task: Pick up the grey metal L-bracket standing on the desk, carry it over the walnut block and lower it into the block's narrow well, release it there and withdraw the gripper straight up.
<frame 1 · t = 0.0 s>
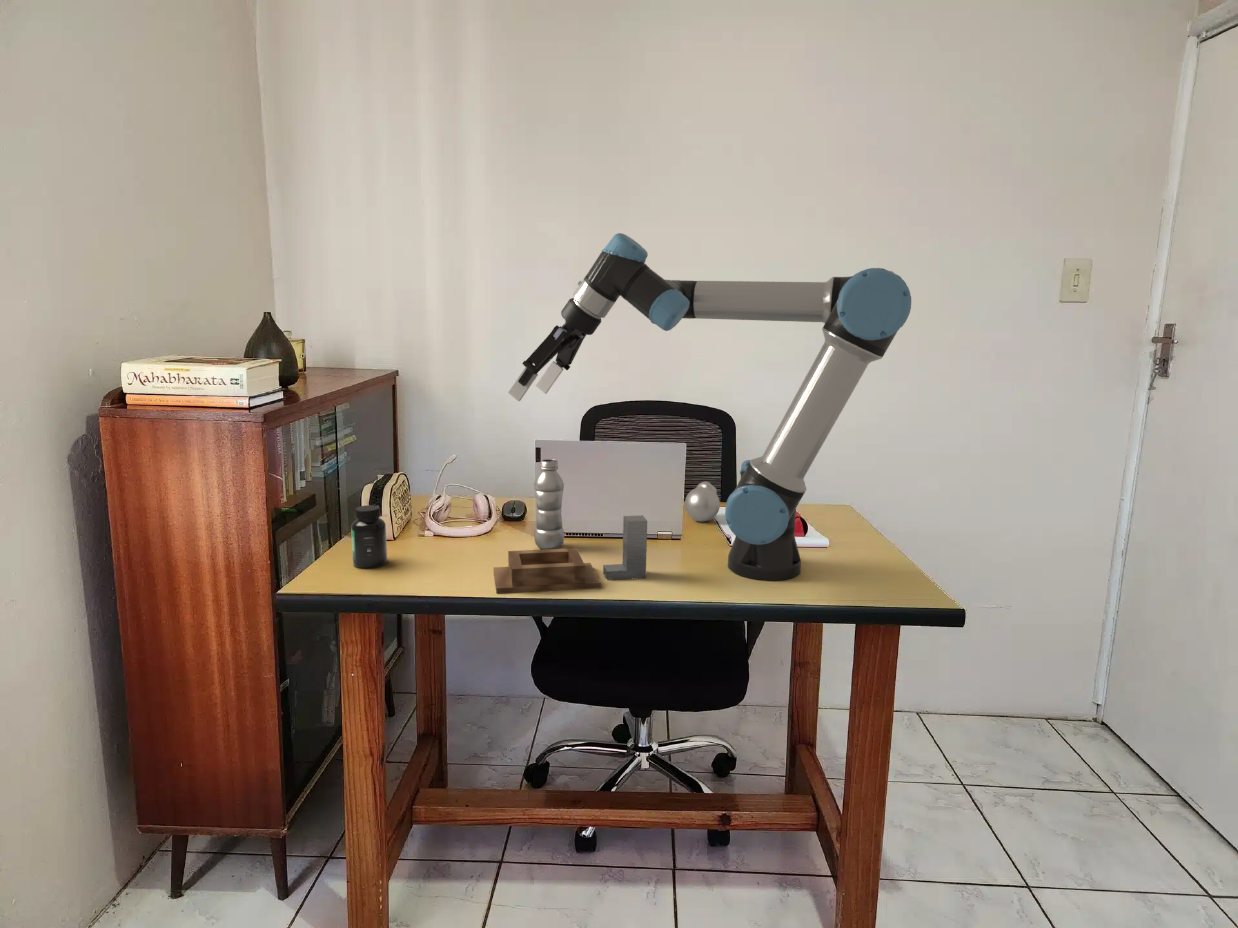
hand: (528, 393, 162), 36 cm above the table, tool tilted 35°, fingers open, 13 cm apart
bracket: (633, 575, 162), on the table
well: (545, 579, 159), on the table
plastic bottle: (549, 549, 178), on the table
supplement bottle: (370, 564, 166), on the table
silver pear shape: (702, 521, 203), on the table
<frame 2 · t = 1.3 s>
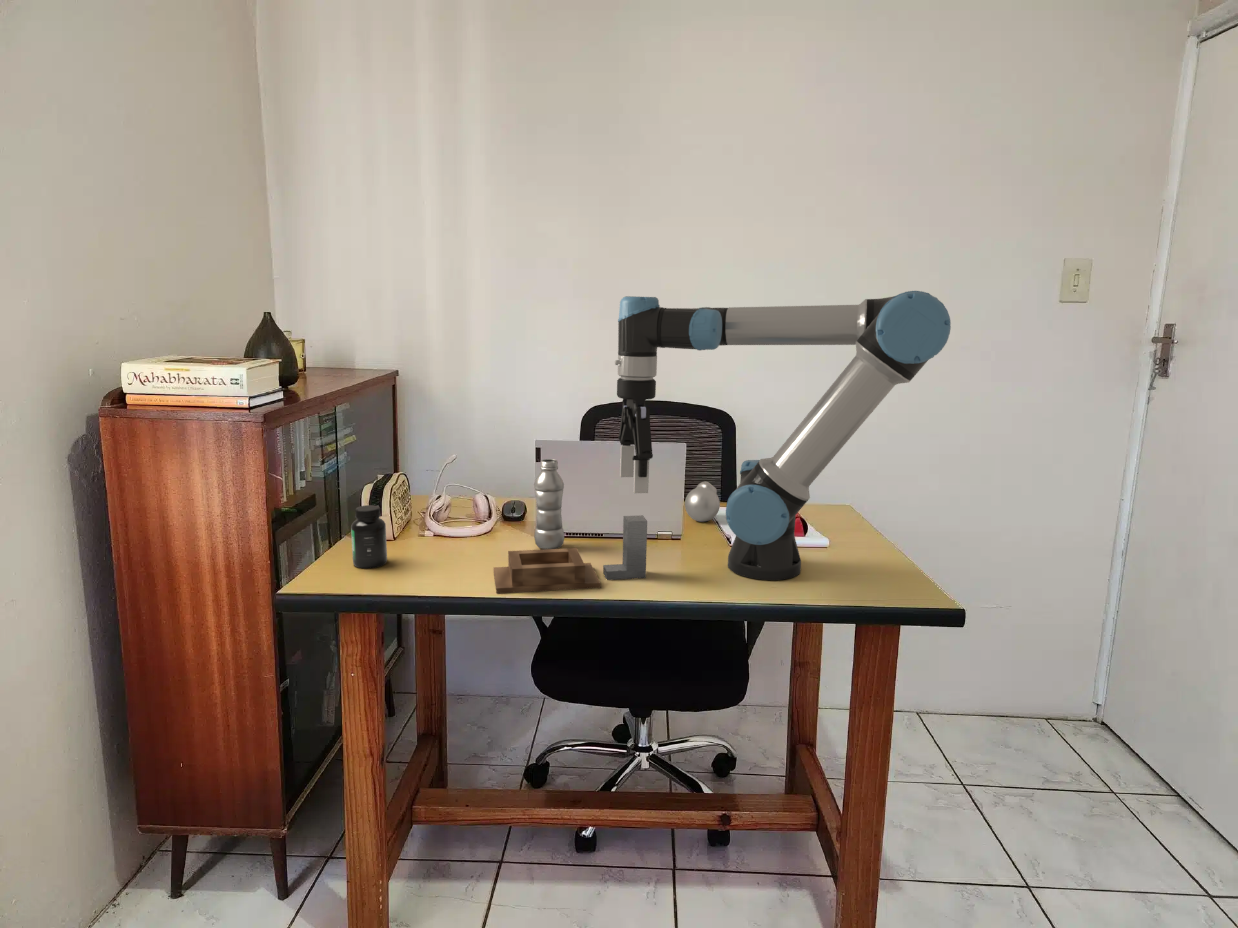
hand: (633, 484, 158), 19 cm above the table, tool pointing down, fingers open, 13 cm apart
nothing on the table moved.
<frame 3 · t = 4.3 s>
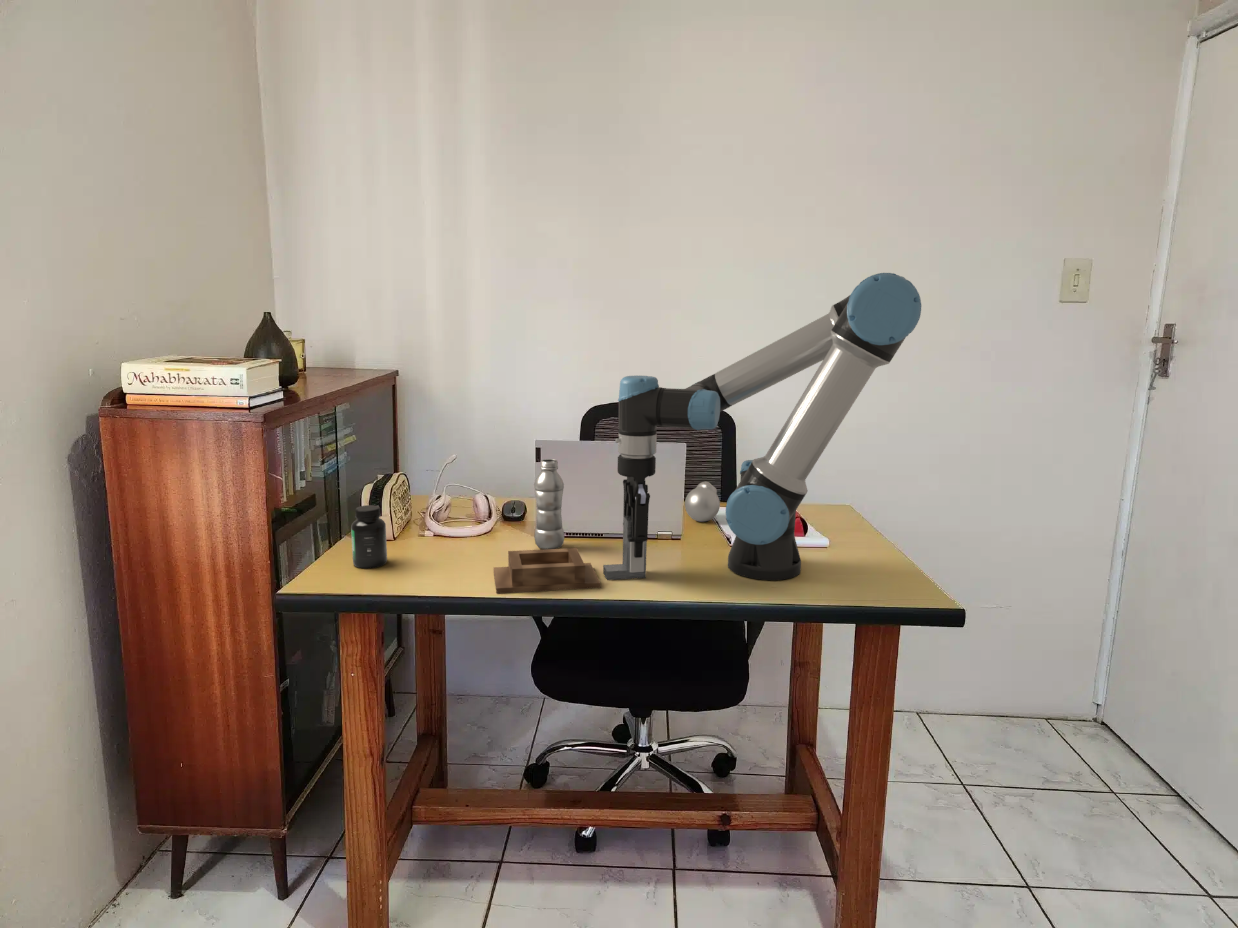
hand: (634, 567, 162), 2 cm above the table, tool pointing down, fingers closed on bracket, 4 cm apart
bracket: (633, 575, 162), on the table, touching gripper
everything else where it was.
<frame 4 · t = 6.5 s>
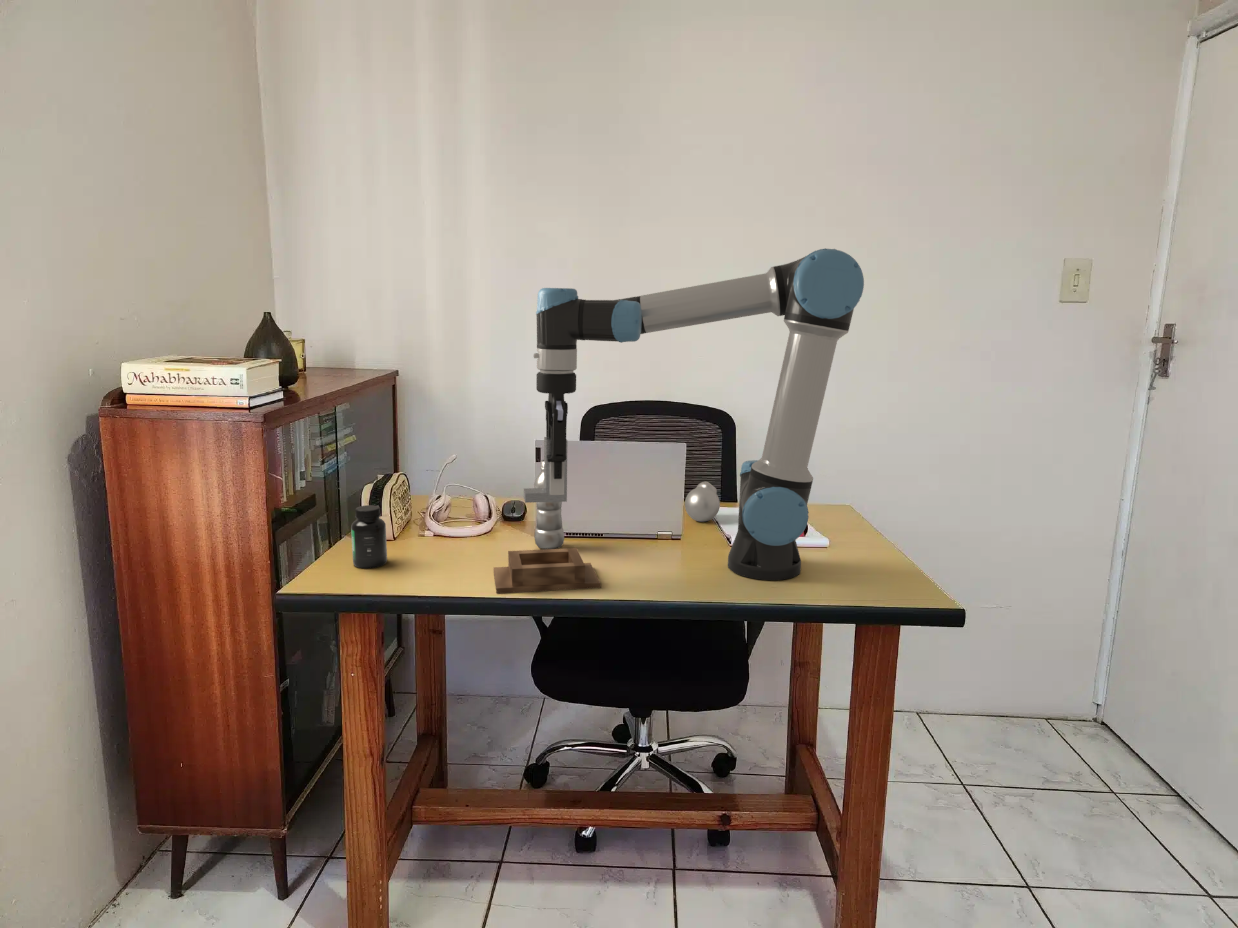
hand: (555, 491, 155), 18 cm above the table, tool pointing down, fingers closed on bracket, 4 cm apart
bracket: (555, 499, 156), point 16 cm above the table, touching gripper
everything else where it was.
when the fingers open (5 cm above the table, at t = 9.0 s): bracket drops 2 cm, resting on well.
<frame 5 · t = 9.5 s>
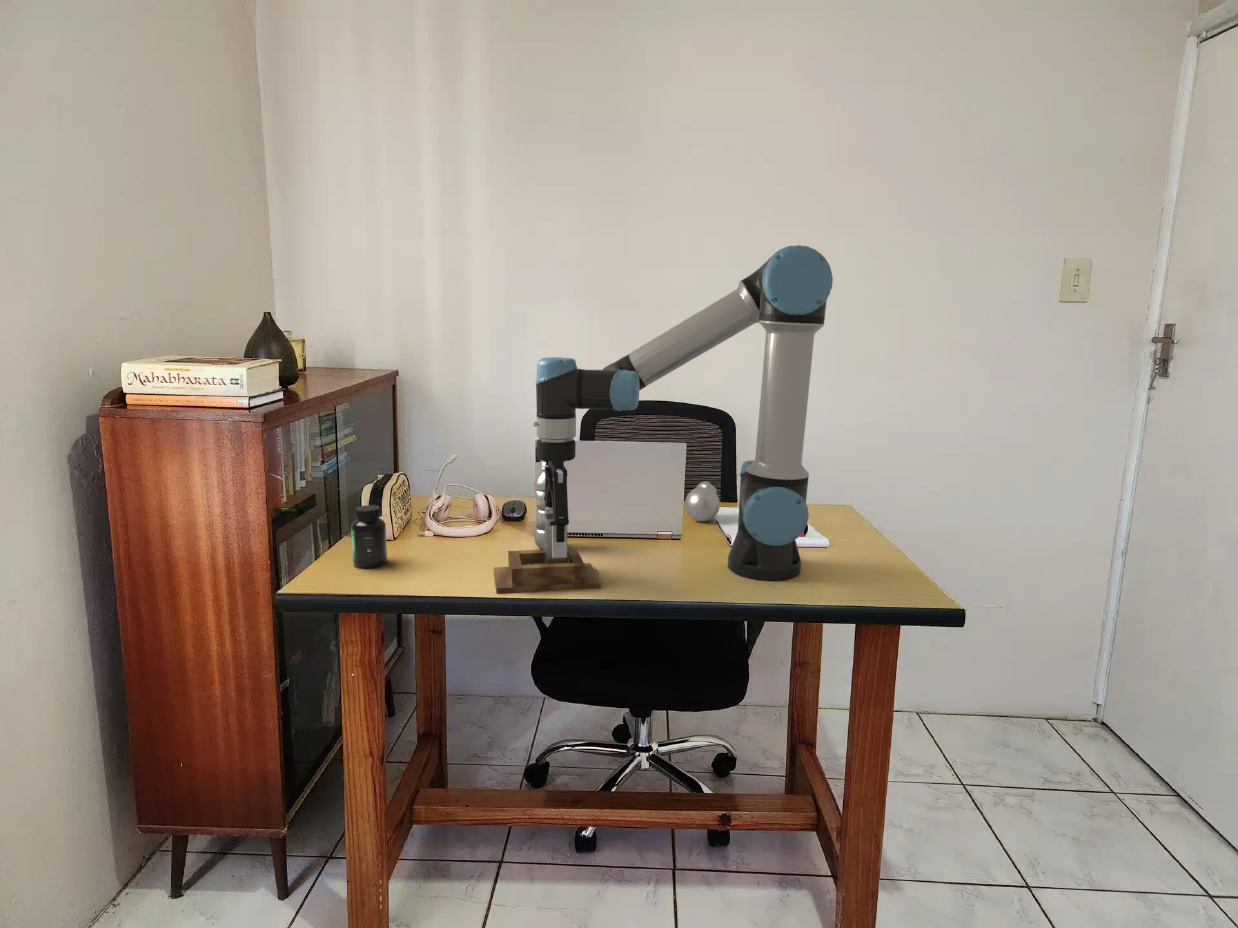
hand: (555, 547, 158), 7 cm above the table, tool pointing down, fingers open, 11 cm apart
bracket: (555, 574, 159), point 1 cm above the table, touching well
everything else where it was.
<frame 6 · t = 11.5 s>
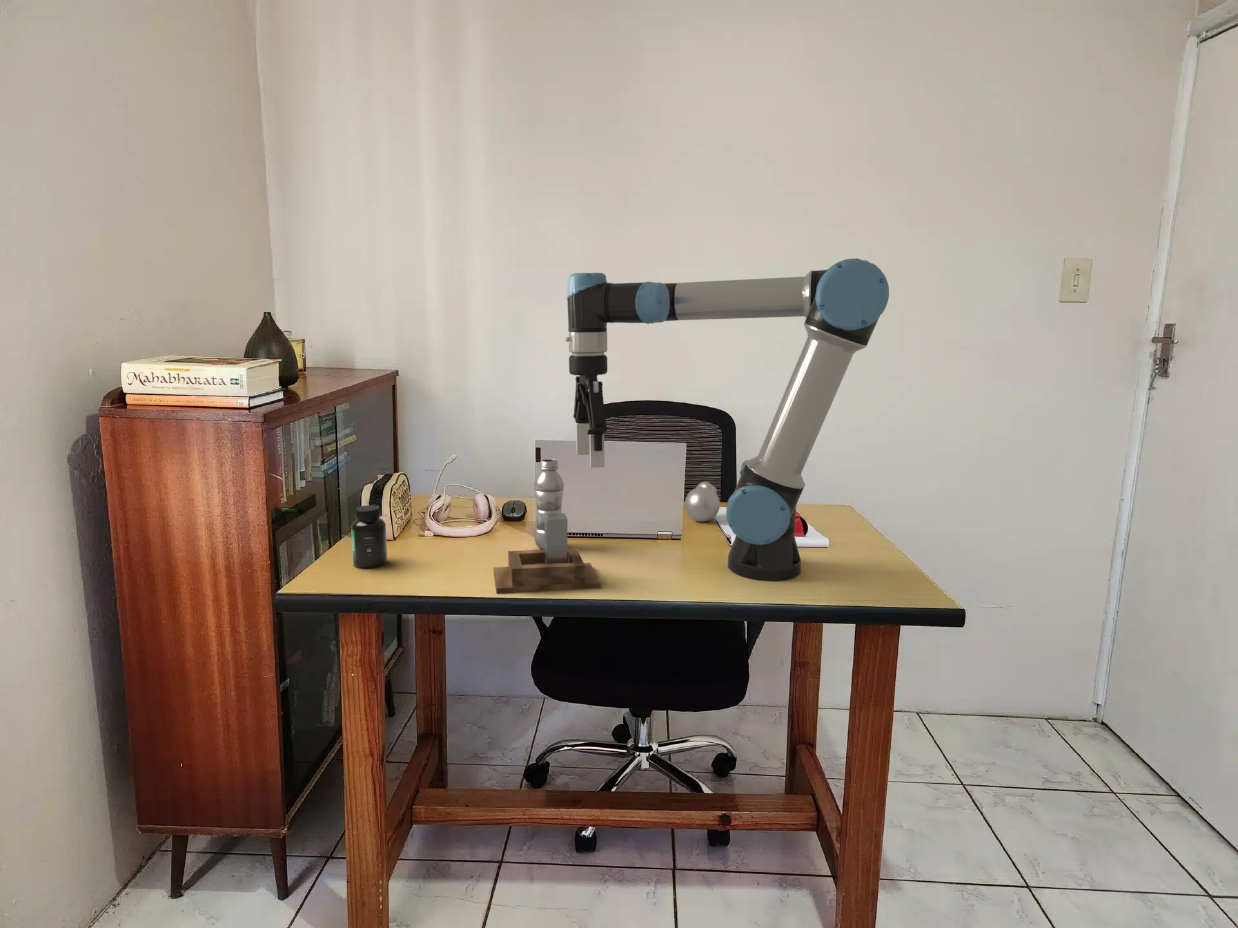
hand: (590, 460, 160), 23 cm above the table, tool pointing down, fingers open, 13 cm apart
nothing on the table moved.
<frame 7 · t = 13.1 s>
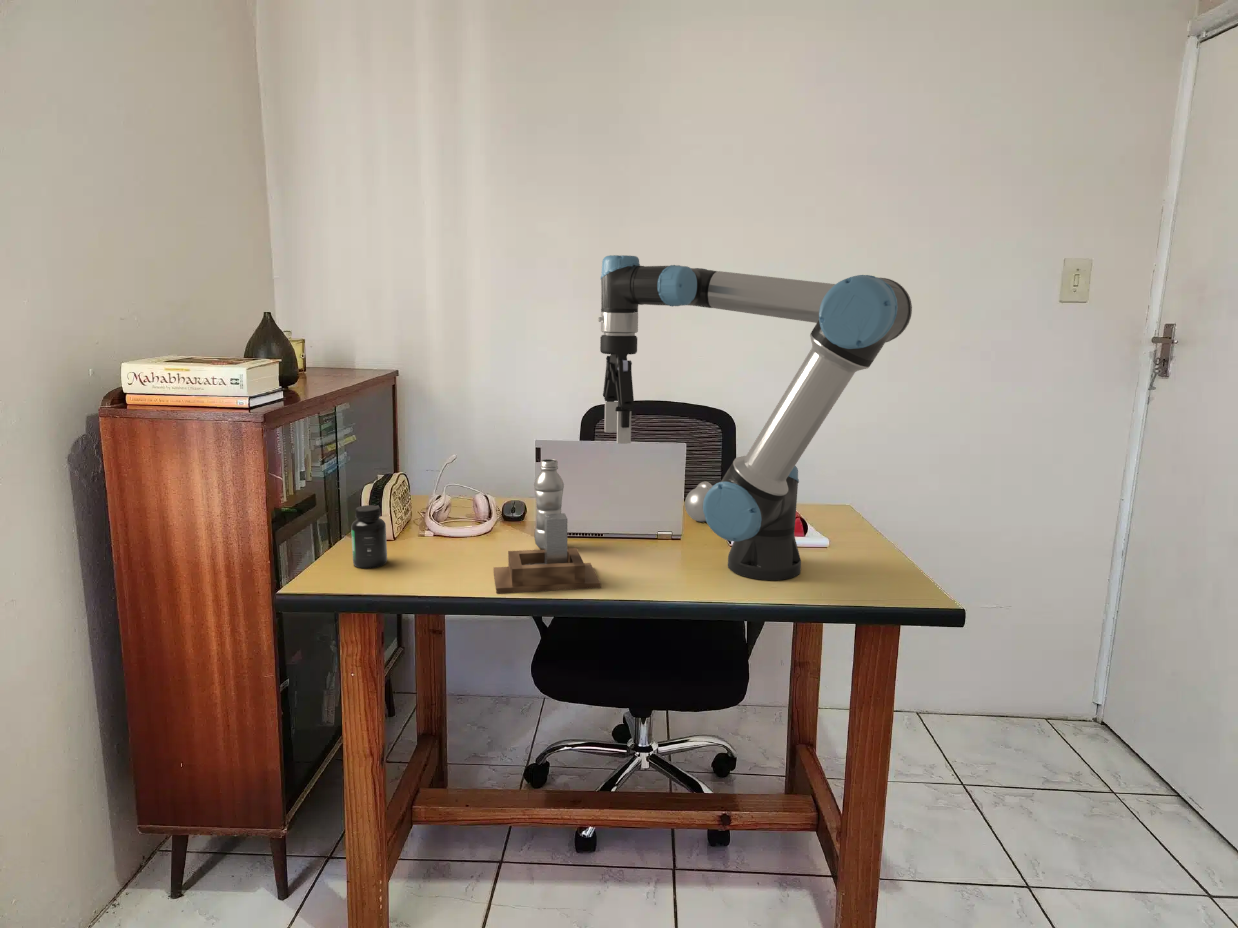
hand: (617, 437, 166), 27 cm above the table, tool pointing down, fingers open, 13 cm apart
nothing on the table moved.
at the end: bracket 0.0 cm from the target spot on the well, point 1.0 cm above the well's base; bracket tilted 0°; the gripper is holding nothing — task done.
